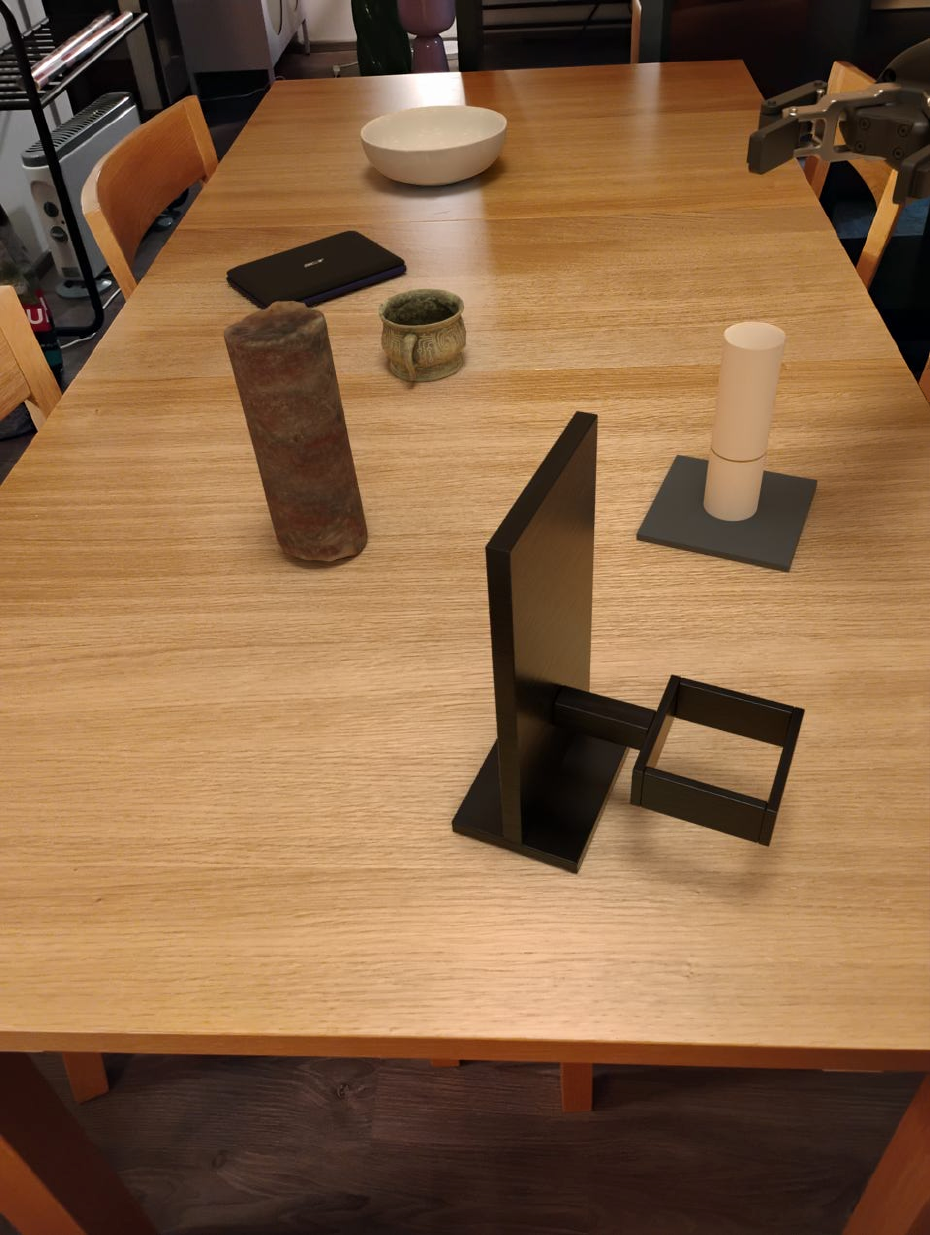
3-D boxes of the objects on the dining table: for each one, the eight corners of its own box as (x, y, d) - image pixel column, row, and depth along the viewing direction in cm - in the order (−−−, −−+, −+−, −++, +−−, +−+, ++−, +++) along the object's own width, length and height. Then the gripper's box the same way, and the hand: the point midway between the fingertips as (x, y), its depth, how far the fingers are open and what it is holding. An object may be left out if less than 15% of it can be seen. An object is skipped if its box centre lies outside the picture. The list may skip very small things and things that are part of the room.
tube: (753, 524, 79) (781, 352, 69) (699, 516, 81) (719, 346, 70) (760, 494, 82) (789, 325, 72) (708, 486, 83) (729, 319, 73)
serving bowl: (538, 166, 145) (537, 115, 140) (441, 213, 134) (437, 160, 129) (433, 143, 156) (429, 95, 151) (336, 184, 145) (328, 134, 140)
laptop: (419, 282, 118) (417, 265, 117) (258, 325, 113) (254, 308, 111) (369, 238, 129) (367, 223, 128) (220, 275, 123) (216, 259, 122)
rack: (790, 770, 62) (868, 460, 46) (747, 932, 54) (823, 624, 39) (525, 695, 68) (515, 399, 53) (452, 831, 60) (415, 530, 45)
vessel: (454, 395, 98) (449, 336, 94) (369, 390, 100) (360, 332, 96) (479, 338, 107) (476, 281, 103) (401, 334, 109) (394, 279, 104)
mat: (816, 485, 84) (817, 479, 83) (788, 572, 76) (789, 566, 75) (676, 460, 88) (677, 454, 87) (636, 539, 80) (636, 533, 79)
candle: (292, 582, 79) (236, 351, 65) (265, 533, 84) (208, 308, 70) (381, 552, 81) (345, 322, 67) (350, 505, 86) (311, 282, 72)
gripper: (864, 13, 62) (718, 74, 54) (1107, 38, 55) (979, 115, 46) (841, 139, 67) (704, 213, 59) (1061, 180, 60) (938, 271, 51)
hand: (825, 170), depth 53 cm, fingers open, 8 cm apart
